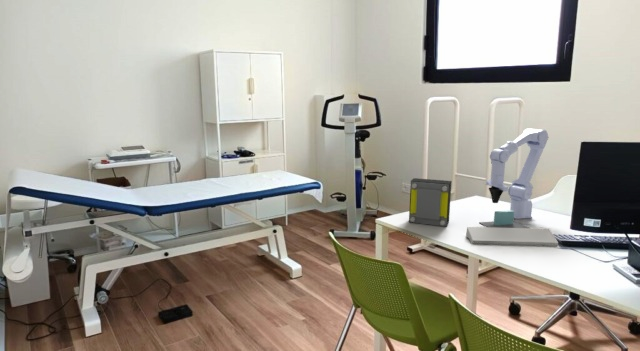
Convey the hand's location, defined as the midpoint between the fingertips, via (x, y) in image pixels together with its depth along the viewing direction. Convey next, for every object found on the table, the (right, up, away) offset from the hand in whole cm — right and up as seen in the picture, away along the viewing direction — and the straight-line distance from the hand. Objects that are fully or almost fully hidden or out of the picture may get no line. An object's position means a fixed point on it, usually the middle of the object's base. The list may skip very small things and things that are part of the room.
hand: (495, 202), depth 219 cm
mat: (+2, -11, -7) cm, 13 cm away
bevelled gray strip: (-4, -15, -26) cm, 30 cm away
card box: (+2, -10, -5) cm, 11 cm away
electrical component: (-32, -10, -2) cm, 34 cm away
